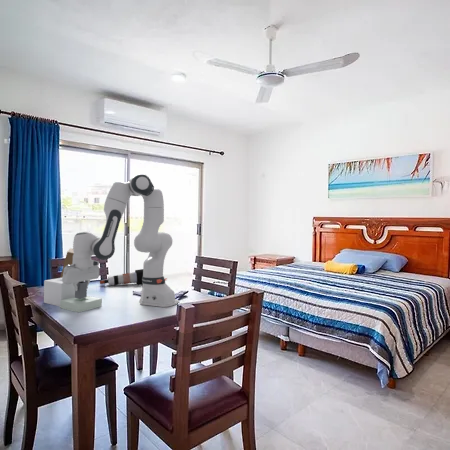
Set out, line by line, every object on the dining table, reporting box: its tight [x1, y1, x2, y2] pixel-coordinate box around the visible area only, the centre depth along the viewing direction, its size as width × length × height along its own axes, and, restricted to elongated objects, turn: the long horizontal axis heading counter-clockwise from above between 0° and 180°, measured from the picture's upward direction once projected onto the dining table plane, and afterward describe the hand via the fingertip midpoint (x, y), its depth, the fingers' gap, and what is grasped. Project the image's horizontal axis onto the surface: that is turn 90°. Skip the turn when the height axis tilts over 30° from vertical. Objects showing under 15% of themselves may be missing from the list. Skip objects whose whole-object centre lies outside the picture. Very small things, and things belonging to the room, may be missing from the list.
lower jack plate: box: [59, 295, 103, 313], centre depth 175 cm, size 14×14×4 cm
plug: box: [75, 281, 88, 299], centre depth 175 cm, size 4×4×10 cm
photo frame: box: [59, 247, 74, 278], centre depth 215 cm, size 15×22×25 cm
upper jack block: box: [43, 277, 75, 307], centre depth 184 cm, size 14×14×12 cm
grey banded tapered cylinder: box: [99, 268, 143, 287], centre depth 234 cm, size 10×34×10 cm, turn 110°
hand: (81, 289), depth 175 cm, fingers closed on plug, 4 cm apart
